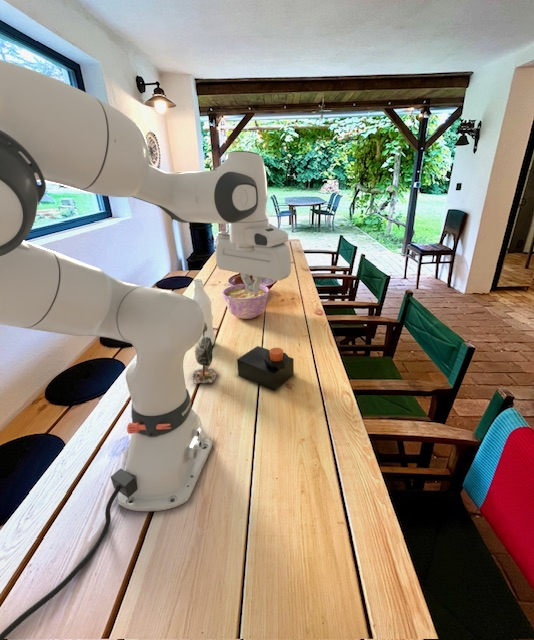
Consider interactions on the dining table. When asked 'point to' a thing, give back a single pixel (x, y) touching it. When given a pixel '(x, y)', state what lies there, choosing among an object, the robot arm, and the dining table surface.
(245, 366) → the black button box
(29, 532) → the dining table surface
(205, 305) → the water bottle
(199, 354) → the plant with pod
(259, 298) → the bowl of food
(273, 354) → the round orange button
